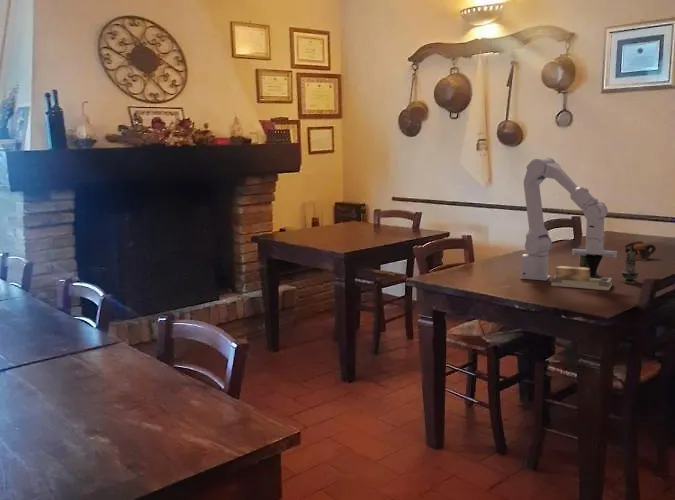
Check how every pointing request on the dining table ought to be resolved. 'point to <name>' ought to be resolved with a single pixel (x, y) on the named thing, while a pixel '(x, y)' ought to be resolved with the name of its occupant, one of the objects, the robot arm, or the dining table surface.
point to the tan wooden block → (573, 273)
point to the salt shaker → (630, 269)
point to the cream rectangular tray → (583, 283)
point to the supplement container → (584, 261)
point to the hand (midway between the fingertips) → (593, 276)
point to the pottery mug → (640, 249)
